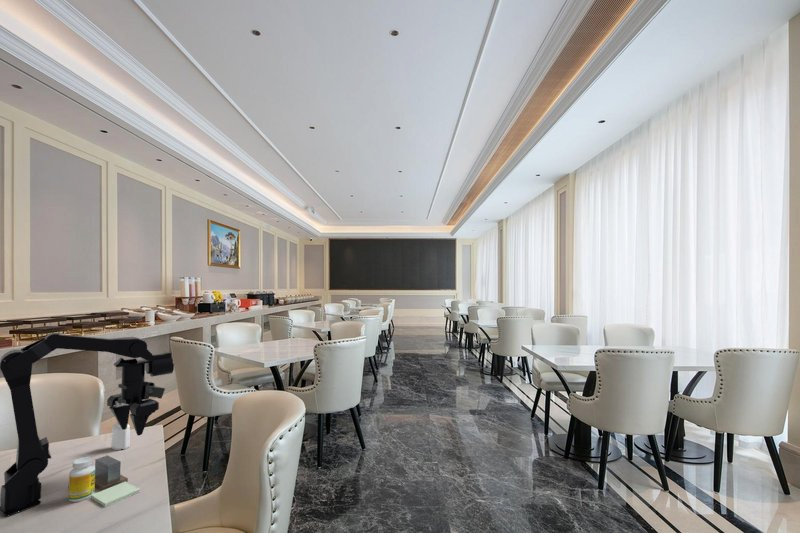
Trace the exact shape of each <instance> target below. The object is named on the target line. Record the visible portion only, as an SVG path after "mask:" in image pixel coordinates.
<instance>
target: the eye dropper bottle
mask: <svg viewBox="0 0 800 533" xmlns="http://www.w3.org/2000/svg"><path fill="white" fill-rule="evenodd" d="M125 431H127V432H125ZM113 433H114V434H113ZM130 437H131V426H130V424H129V423H128V425H127V429H124V430H122V428H121V426H120V425H119V423H118V421H117V420H116V423H115V424H114V425H113V426H112V428H111V449H112V450H114V451H116V450H117V451H122V450H121V449H123V450H126V449H128V448H130V446H131V444H130V442H131V438H130Z"/></svg>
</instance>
